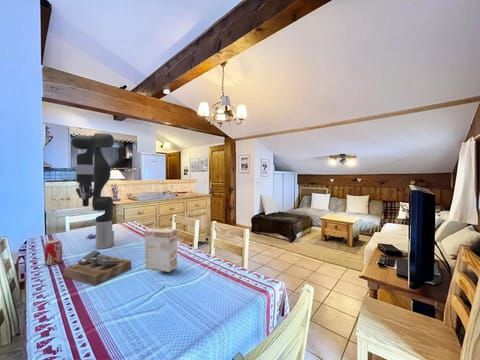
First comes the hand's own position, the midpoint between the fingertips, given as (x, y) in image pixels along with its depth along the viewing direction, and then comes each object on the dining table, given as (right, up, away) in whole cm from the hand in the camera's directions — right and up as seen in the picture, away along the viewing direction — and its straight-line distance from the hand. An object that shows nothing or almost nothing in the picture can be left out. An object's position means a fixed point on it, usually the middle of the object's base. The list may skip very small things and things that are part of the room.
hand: (85, 206), depth 111 cm
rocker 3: (+20, -25, -12) cm, 34 cm away
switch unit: (+13, -31, -9) cm, 35 cm away
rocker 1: (+7, -25, -7) cm, 27 cm away
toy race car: (-26, -31, +47) cm, 62 cm away
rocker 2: (+13, -25, -9) cm, 30 cm away
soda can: (-19, -31, +2) cm, 37 cm away
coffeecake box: (+42, -31, -4) cm, 52 cm away
